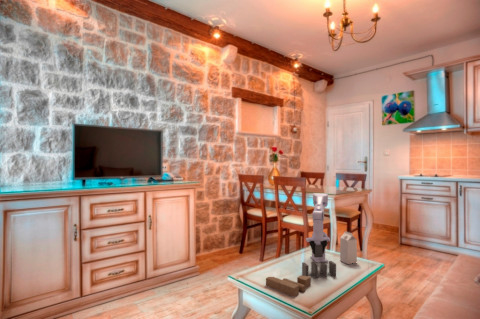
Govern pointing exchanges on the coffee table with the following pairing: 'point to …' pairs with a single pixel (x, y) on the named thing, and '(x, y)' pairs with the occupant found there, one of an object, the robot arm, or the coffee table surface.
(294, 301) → the coffee table surface
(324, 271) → the domino
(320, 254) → the domino
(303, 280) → the wooden block set
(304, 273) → the domino
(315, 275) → the domino
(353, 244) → the milk carton
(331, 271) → the domino
